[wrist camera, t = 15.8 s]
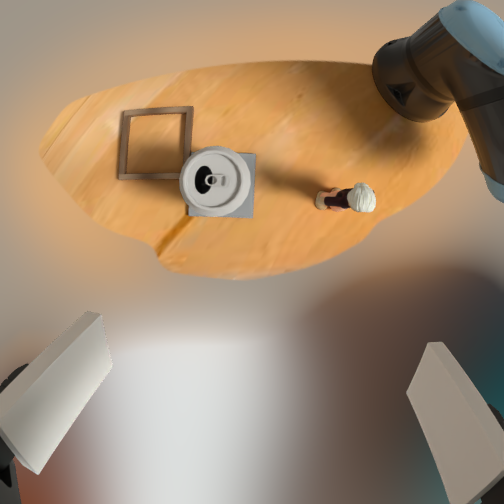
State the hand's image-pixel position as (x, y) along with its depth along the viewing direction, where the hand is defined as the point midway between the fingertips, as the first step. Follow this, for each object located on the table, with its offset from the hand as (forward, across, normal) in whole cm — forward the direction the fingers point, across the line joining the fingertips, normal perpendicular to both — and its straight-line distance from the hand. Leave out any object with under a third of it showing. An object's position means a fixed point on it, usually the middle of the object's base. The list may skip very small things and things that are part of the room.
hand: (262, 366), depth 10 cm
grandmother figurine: (+34, +8, +3) cm, 35 cm away
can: (+32, -8, +4) cm, 33 cm away
